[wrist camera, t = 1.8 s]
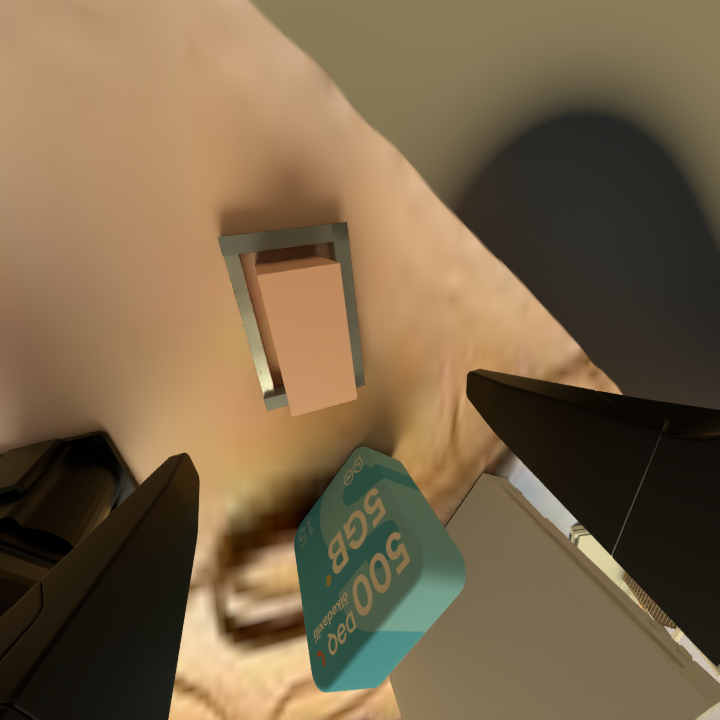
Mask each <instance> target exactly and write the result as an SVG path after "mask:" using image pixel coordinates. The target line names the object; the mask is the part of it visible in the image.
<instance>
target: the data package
mask: <svg viewBox="0 0 720 720" xmlns="http://www.w3.org/2000/svg"><path fill="white" fill-rule="evenodd" d="M294 548H295V556H296V563H297V570H298V577H299V584H300V592H301V599H302V606H303V613H304V620H305V627H306V635H307V642H308V649H309V656H310V663H311V670H312V676H313V679H314V682H315V684H316V686H317V687H318V688H319V690H321V691H322V692H336V691H346V690H357V689H367V688H375V687H378V686H379V685H380V684H381V683H382V682H383V681H384V680H385V679H386V678H387V676H388V675H389V674H390V673H391V672H392V671H393V670H394V668H395V667H396V666H397V665H398V664H399V663H400V661H401V660H402V659H403V658H404V657H405V656H406V655H407V653H408V652H409V651H410V650H411V649H412V648H413V646H414V645H415V644H416V643H417V642H418V641H419V640H420V638H421V637H422V636H423V635H424V634H425V633H426V632H427V630H428V629H429V628H430V627H431V626H432V625H433V623H434V622H435V621H436V620H437V619H438V618H439V617H440V615H441V614H442V613H443V612H444V611H445V610H446V609H447V607H448V606H449V605H450V604H451V603H452V602H453V600H454V599H455V598H456V597H457V596H458V595H459V594H460V592H461V591H462V589H463V587H464V584H465V579H466V567H465V562H464V559H463V556H462V554H461V552H460V551H459V549H458V548H457V546H456V545H455V543H454V542H453V540H452V538H451V537H450V535H449V534H448V532H447V531H446V529H445V528H444V526H443V525H442V523H441V522H440V520H439V519H438V517H437V516H436V514H435V513H434V511H433V510H432V508H431V507H430V505H429V504H428V502H427V501H426V499H425V498H424V496H423V495H422V493H421V492H420V490H419V489H418V487H417V485H416V484H415V482H414V481H413V479H412V478H411V476H410V475H409V473H408V472H407V470H406V469H405V467H404V466H403V464H402V463H401V462H400V461H398V460H396V459H394V458H391V457H389V456H387V455H384V454H382V453H379V452H377V451H375V450H372V449H370V448H367V447H364V446H363V447H359V448H357V449H356V450H355V451H354V452H353V453H352V454H351V455H350V457H349V458H348V460H347V461H346V462H345V464H344V465H343V466H342V468H341V469H340V471H339V472H338V473H337V475H336V476H335V477H334V479H333V480H332V481H331V483H330V484H329V486H328V487H327V488H326V490H325V491H324V492H323V494H322V495H321V496H320V498H319V499H318V501H317V502H316V503H315V505H314V506H313V507H312V509H311V510H310V511H309V513H308V514H307V516H306V517H305V518H304V520H303V521H302V522H301V524H300V526H299V528H298V530H297V533H296V536H295V544H294Z"/></svg>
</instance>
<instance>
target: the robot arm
mask: <svg viewBox="0 0 720 720" xmlns="http://www.w3.org/2000/svg"><path fill="white" fill-rule="evenodd" d="M466 394H467V397H468V399H469V400H470V402H471V403H472V404H473V406H474V407H475V408H476V410H477V411H478V412H479V413H480V415H481V416H482V417H483V419H484V420H485V421H486V422H487V424H488V425H489V426H490V428H491V429H492V430H493V431H494V432H495V434H496V435H497V436H498V437H499V438H500V439H501V440H502V441H503V442H504V443H505V444H506V445H507V446H508V447H509V449H510V450H511V451H512V452H513V453H514V454H515V455H516V456H517V457H518V458H519V459H520V460H521V461H522V462H523V463H524V464H525V465H526V467H527V468H528V469H529V470H530V471H531V472H532V473H533V474H534V475H535V476H536V477H537V478H538V479H539V480H540V481H541V482H542V483H543V485H544V486H545V487H546V488H547V489H548V490H549V491H550V492H551V493H552V494H553V495H554V496H555V497H556V498H557V499H558V500H559V501H560V503H561V504H562V505H563V506H564V507H565V508H566V509H567V510H568V511H569V512H570V513H571V514H572V515H573V516H574V517H575V518H576V519H577V521H578V522H579V523H580V524H581V525H582V526H583V527H584V528H585V529H586V530H587V531H588V532H589V533H590V534H591V535H592V536H593V538H594V539H595V540H596V541H597V542H598V543H599V544H600V545H601V546H602V547H603V548H604V549H605V550H606V551H607V552H608V553H609V554H610V555H611V556H612V558H613V559H614V560H615V561H616V562H617V563H618V564H619V565H620V566H621V567H622V568H623V570H624V571H625V572H626V573H627V574H628V575H629V576H630V577H631V578H632V579H633V580H634V581H635V582H636V583H637V584H638V585H639V587H640V588H641V589H642V590H643V591H644V592H645V593H646V594H647V595H648V596H649V597H650V598H651V599H652V600H653V601H654V602H655V603H656V605H657V606H658V607H659V608H660V609H661V610H662V611H663V612H664V613H665V614H666V615H667V616H668V617H669V618H670V619H671V620H672V622H673V623H674V624H675V625H676V626H677V627H678V628H679V629H680V630H681V631H682V632H683V633H684V634H685V635H686V636H687V637H688V638H689V639H690V641H691V642H692V643H693V644H694V645H695V646H696V647H697V648H698V649H699V650H700V651H701V652H702V653H703V654H704V655H705V656H706V657H707V658H708V659H709V660H710V661H711V662H712V663H713V664H714V665H715V666H716V667H718V668H719V667H720V410H718V409H711V408H704V407H698V406H690V405H684V404H677V403H670V402H663V401H656V400H649V399H643V398H637V397H631V396H625V395H619V394H613V393H608V392H602V391H595V390H591V389H586V388H580V387H575V386H570V385H564V384H559V383H553V382H548V381H542V380H537V379H531V378H526V377H521V376H515V375H510V374H504V373H499V372H493V371H488V370H483V369H477V370H474V371H470V372H469V373H468V374H467V387H466ZM95 438H99V439H101V441H98V440H96V439H95ZM199 485H200V481H199V475H198V473H197V471H196V469H195V466H194V464H193V462H192V460H191V458H190V456H189V455H188V454H187V453H182V454H178V455H174V456H171V457H169V458H168V459H167V460H166V461H165V462H164V463H163V464H162V465H161V466H160V467H159V468H158V469H156V470H155V471H154V472H153V473H152V474H151V475H150V476H149V477H148V478H147V479H146V480H145V481H144V482H143V483H142V484H141V485H140V486H139V487H138V485H137V484H136V482H135V480H134V479H133V477H132V475H131V474H130V472H129V470H128V468H127V467H126V465H125V463H124V462H123V460H122V458H121V456H120V455H119V453H118V451H117V450H116V448H115V446H114V444H113V443H112V441H111V439H110V438H109V436H108V435H107V434H106V433H105V432H102V431H96V432H92V433H88V434H84V435H80V436H76V437H71V438H67V439H53V440H49V441H45V442H41V443H37V444H33V445H29V446H25V447H21V448H17V449H13V450H10V451H8V452H7V453H6V454H3V455H0V720H168V718H169V712H170V706H171V699H172V693H173V687H174V681H175V674H176V668H177V662H178V655H179V649H180V643H181V637H182V630H183V624H184V618H185V611H186V605H187V599H188V593H189V586H190V580H191V574H192V567H193V561H194V555H195V548H196V542H197V534H198V512H199Z"/></svg>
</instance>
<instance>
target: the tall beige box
mask: <svg viewBox="0 0 720 720" xmlns="http://www.w3.org/2000/svg"><path fill="white" fill-rule="evenodd" d="M255 265H256V271H257V277H258V281H259V285H260V289H261V293H262V297H263V301H264V305H265V309H266V313H267V318H268V322H269V326H270V330H271V334H272V338H273V342H274V346H275V350H276V354H277V358H278V362H279V366H280V370H281V374H282V378H283V382H284V387H285V391H286V395H287V399H288V403H289V407H290V411H291V415H292V417H294V416H298V415H301V414H305V413H309V412H312V411H316V410H319V409H323V408H327V407H330V406H334V405H337V404H341V403H345V402H348V401H352V400H356V399H357V392H356V384H355V376H354V369H353V361H352V353H351V345H350V338H349V330H348V322H347V314H346V306H345V299H344V291H343V283H342V275H341V268H340V263H339V262H335V261H332V260H329V259H326V258H323V257H320V256H310V257H303V258H296V259H289V260H282V261H275V262H268V263H261V264H255Z"/></svg>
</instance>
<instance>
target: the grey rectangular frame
mask: <svg viewBox="0 0 720 720" xmlns="http://www.w3.org/2000/svg"><path fill="white" fill-rule="evenodd" d="M218 240H219V244H220V247H221V251H222V254H223V256H224V258H225V262H226V265H227V269H228V272H229V276H230V279H231V283H232V286H233V290H234V293H235V297H236V300H237V304H238V307H239V311H240V314H241V318H242V321H243V325H244V328H245V332H246V335H247V339H248V342H249V346H250V349H251V353H252V356H253V360H254V363H255V367H256V370H257V374H258V377H259V381H260V384H261V388H262V391H263V395H264V401H265V404H266V408H267V411H269V410H273V409H277V408H281V407H284V406H288V405H289V403H288V399H287V395H286V391H285V387H284V384H283V385H279V386H275V387H274V385H273V381H272V377H271V373H270V369H269V366H268V362H267V358H266V354H265V350H264V347H263V343H262V339H261V335H260V331H259V328H258V324H257V320H256V316H255V313H254V309H253V305H252V301H251V297H250V294H249V290H248V286H247V282H246V278H245V275H244V271H243V267H242V263H241V259H240V256H239V254H243V253H251V252H258V251H266V250H274V249H281V248H289V247H296V246H304V245H312V244H319V243H327V242H328V244H329V251H330V259H331V260H332V261H335V262H339V263H340V268H341V275H342V283H343V291H344V299H345V306H346V314H347V322H348V330H349V338H350V345H351V353H352V361H353V369H354V376H355V384H356V387H360V386H364V385H365V379H364V370H363V361H362V352H361V343H360V334H359V325H358V317H357V308H356V299H355V290H354V281H353V272H352V263H351V254H350V246H349V237H348V228H347V222H344V223H336V224H327V225H318V226H310V227H301V228H292V229H284V230H275V231H266V232H258V233H249V234H240V235H232V236H223V237H218Z"/></svg>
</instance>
